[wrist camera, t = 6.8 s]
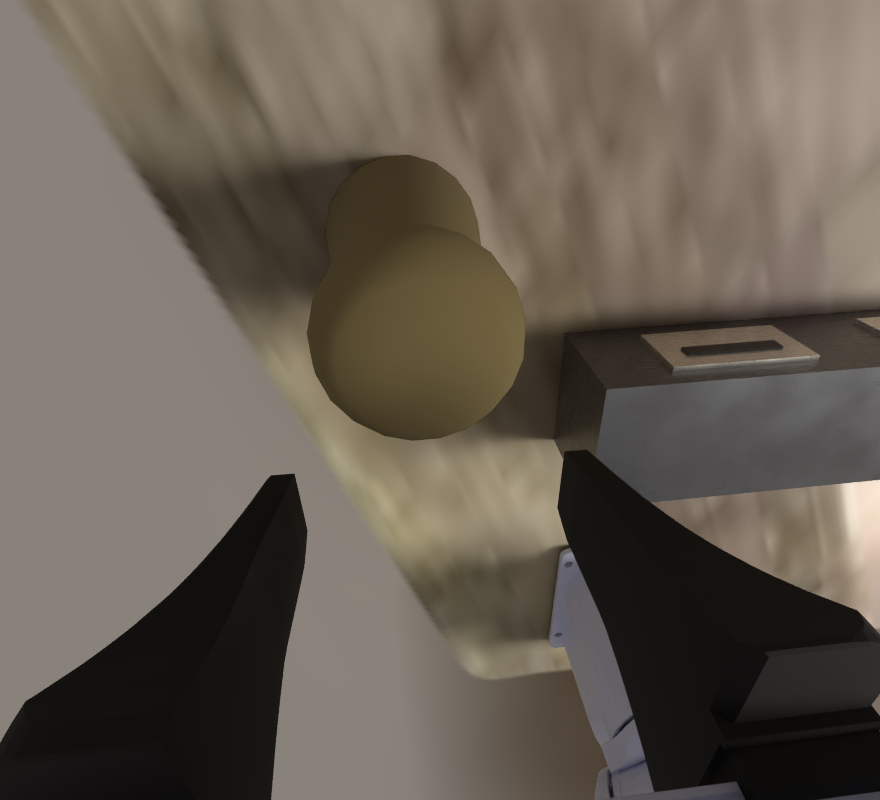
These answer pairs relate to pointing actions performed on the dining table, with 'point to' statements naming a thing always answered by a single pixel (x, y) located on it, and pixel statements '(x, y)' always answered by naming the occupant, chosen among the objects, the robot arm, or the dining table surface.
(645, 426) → the dark gray slotted box
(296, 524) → the robot arm
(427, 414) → the cork
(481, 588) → the dining table surface
